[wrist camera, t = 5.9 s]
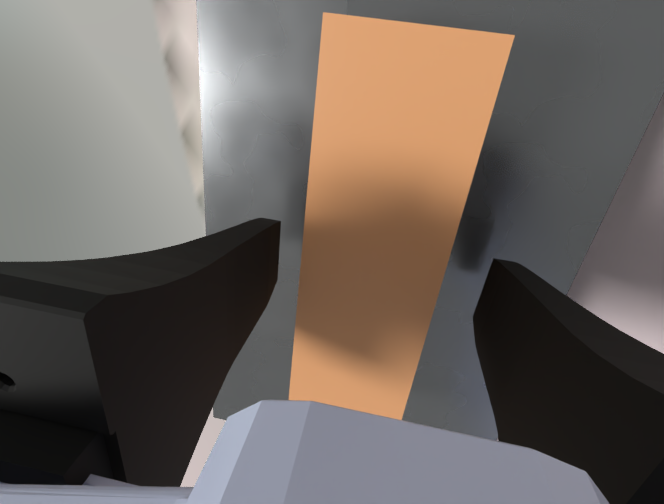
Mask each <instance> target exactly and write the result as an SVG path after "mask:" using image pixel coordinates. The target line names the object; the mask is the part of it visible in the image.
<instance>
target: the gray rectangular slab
mask: <svg viewBox="0 0 664 504" xmlns="http://www.w3.org/2000/svg"><path fill="white" fill-rule="evenodd" d="M196 5H197V29H198V53H199V77H200V102H201V126H202V150H203V174H204V198H205V222H206V236H208V235H211V234H214V233H217V232H220V231H222V230H225V229H228V228H231V227H233V226H236V225H239V224H241V223H244V222H247V221H250V220H253V219H256V218H267V219H272V220H278V221H281V230H280V248H279V265H278V280H277V283H276V285H275V288H274V290H273V293H272V295H271V298H270V300H269V302H268V305H267V307H266V308H265V310H264V312H263V314H262V315H261V317H260V319H259V320H258V322H257V324H256V325H255V327H254V329H253V330H252V332H251V334H250V335H249V337H248V339H247V340H246V342H245V344H244V346H243V347H242V349H241V351H240V352H239V354H238V356H237V357H236V359H235V361H234V362H233V364H232V366H231V368H230V370H229V372H228V374H227V376H226V378H225V380H224V383H223V385H222V387H221V389H220V391H219V394H218V396H217V398H216V400H215V402H214V405H213V415H214V417H215V418H219V419H224V420H227V418H228V417H229V416H231V415H233V414H235V413H237V412H239V411H241V410H243V409H245V408H247V407H249V406H251V405H253V404H255V403H257V402H259V401H262V400H289V389H290V378H291V367H292V355H293V344H294V333H295V322H296V310H297V299H298V288H299V277H300V266H301V254H302V243H303V232H304V221H305V209H306V198H307V187H308V176H309V165H310V153H311V142H312V131H313V120H314V108H315V97H316V86H317V75H318V64H319V52H320V41H321V30H322V19H323V12H326V13H334V14H343V15H351V16H359V17H368V18H376V19H384V20H393V21H401V22H409V23H418V24H426V25H434V26H443V27H451V28H459V29H468V30H476V31H484V32H493V33H501V34H509V35H515V37H514V40H513V43H512V47H511V50H510V54H509V57H508V60H507V64H506V67H505V71H504V74H503V77H502V81H501V84H500V88H499V91H498V94H497V98H496V101H495V104H494V108H493V111H492V115H491V118H490V121H489V125H488V128H487V132H486V135H485V138H484V142H483V145H482V149H481V152H480V155H479V159H478V162H477V166H476V169H475V172H474V176H473V179H472V183H471V186H470V189H469V193H468V196H467V199H466V203H465V206H464V210H463V213H462V216H461V220H460V223H459V227H458V230H457V233H456V237H455V240H454V244H453V247H452V250H451V254H450V257H449V261H448V264H447V267H446V271H445V274H444V278H443V281H442V284H441V288H440V291H439V295H438V298H437V301H436V305H435V308H434V311H433V315H432V318H431V322H430V325H429V328H428V332H427V335H426V339H425V342H424V345H423V349H422V352H421V356H420V359H419V362H418V366H417V369H416V373H415V376H414V379H413V383H412V386H411V390H410V393H409V396H408V400H407V403H406V406H405V410H404V413H403V417H402V420H403V421H408V422H412V423H417V424H422V425H426V426H431V427H435V428H440V429H445V430H449V431H454V432H458V433H463V434H468V435H472V436H477V437H482V438H486V439H491V440H495V441H496V440H497V438H498V432H497V427H496V423H495V418H494V414H493V410H492V406H491V403H490V399H489V395H488V392H487V388H486V384H485V380H484V377H483V373H482V369H481V366H480V362H479V358H478V354H477V350H476V346H475V337H474V328H473V314H474V311H475V308H476V306H477V303H478V300H479V297H480V294H481V292H482V289H483V286H484V283H485V280H486V278H487V275H488V272H489V269H490V266H491V263H492V261H493V258H496V259H501V260H507V261H513V262H517V263H519V264H521V265H523V266H524V267H526V268H527V269H529V270H530V271H532V272H533V273H535V274H536V275H538V276H539V277H541V278H542V279H543V280H545V281H546V282H548V283H549V284H550V285H552V286H553V287H555V288H556V289H557V290H559V291H560V292H562V293H563V294H564V295H567V293H568V290H569V288H570V286H571V284H572V282H573V280H574V278H575V276H576V274H577V272H578V270H579V268H580V266H581V264H582V261H583V259H584V257H585V255H586V253H587V251H588V249H589V247H590V245H591V243H592V241H593V239H594V237H595V234H596V232H597V230H598V228H599V226H600V224H601V222H602V220H603V218H604V216H605V214H606V212H607V210H608V208H609V205H610V203H611V201H612V199H613V197H614V195H615V193H616V191H617V189H618V187H619V185H620V183H621V181H622V178H623V176H624V174H625V172H626V170H627V168H628V166H629V164H630V162H631V160H632V158H633V156H634V154H635V152H636V149H637V147H638V145H639V143H640V141H641V139H642V137H643V135H644V133H645V131H646V129H647V127H648V125H649V122H650V120H651V118H652V116H653V114H654V112H655V110H656V108H657V106H658V104H659V102H660V100H661V98H662V95H663V93H664V0H196Z"/></svg>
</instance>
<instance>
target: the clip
mask: <svg viewBox="0 0 664 504" xmlns="http://www.w3.org/2000/svg"><path fill="white" fill-rule="evenodd" d="M514 37H515V35H509V34H501V33H493V32H484V31H476V30H468V29H459V28H451V27H443V26H434V25H426V24H418V23H409V22H401V21H393V20H384V19H376V18H368V17H359V16H351V15H343V14H334V13H326V12H323V19H322V30H321V41H320V52H319V64H318V75H317V86H316V97H315V108H314V120H313V131H312V142H311V153H310V165H309V176H308V187H307V198H306V209H305V221H304V232H303V243H302V254H301V266H300V277H299V288H298V299H297V310H296V322H295V333H294V344H293V355H292V367H291V378H290V389H289V400H303V401H315V402H320V403H325V404H329V405H334V406H338V407H343V408H348V409H352V410H357V411H362V412H366V413H371V414H375V415H380V416H385V417H389V418H394V419H398V420H402V417H403V413H404V410H405V406H406V403H407V400H408V396H409V393H410V390H411V386H412V383H413V379H414V376H415V373H416V369H417V366H418V362H419V359H420V356H421V352H422V349H423V345H424V342H425V339H426V335H427V332H428V328H429V325H430V322H431V318H432V315H433V311H434V308H435V305H436V301H437V298H438V295H439V291H440V288H441V284H442V281H443V278H444V274H445V271H446V267H447V264H448V261H449V257H450V254H451V250H452V247H453V244H454V240H455V237H456V233H457V230H458V227H459V223H460V220H461V216H462V213H463V210H464V206H465V203H466V199H467V196H468V193H469V189H470V186H471V183H472V179H473V176H474V172H475V169H476V166H477V162H478V159H479V155H480V152H481V149H482V145H483V142H484V138H485V135H486V132H487V128H488V125H489V121H490V118H491V115H492V111H493V108H494V104H495V101H496V98H497V94H498V91H499V88H500V84H501V81H502V77H503V74H504V71H505V67H506V64H507V60H508V57H509V54H510V50H511V47H512V43H513V40H514Z"/></svg>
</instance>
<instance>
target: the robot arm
mask: <svg viewBox="0 0 664 504" xmlns="http://www.w3.org/2000/svg"><path fill="white" fill-rule="evenodd" d="M280 230H281V221H278V220H272V219H267V218H256V219H253V220H250V221H247V222H244V223H241V224H239V225H236V226H233V227H231V228H228V229H225V230H222V231H220V232H217V233H214V234H211V235H208V236H205V237H202V238H199V239H196V240H193V241H189V242H186V243H183V244H180V245H175V246H171V247H167V248H163V249H158V250H153V251H149V252H143V253H136V254H129V255H122V256H115V257H108V258H99V259H87V260H73V261H53V262H0V504H664V354H663V353H661V352H659V351H657V350H655V349H653V348H651V347H649V346H647V345H645V344H644V343H642V342H640V341H638V340H636V339H635V338H633V337H631V336H629V335H627V334H625V333H624V332H622V331H620V330H618V329H617V328H615V327H613V326H612V325H610V324H608V323H607V322H605V321H604V320H602V319H600V318H599V317H597V316H596V315H594V314H593V313H591V312H589V311H588V310H586V309H585V308H583V307H582V306H580V305H579V304H577V303H576V302H574V301H573V300H572V299H570V298H569V297H567V296H566V295H564V294H563V293H562V292H560V291H559V290H557V289H556V288H555V287H553V286H552V285H550V284H549V283H548V282H546V281H545V280H543V279H542V278H541V277H539V276H538V275H536V274H535V273H533V272H532V271H530V270H529V269H527V268H526V267H524V266H523V265H521V264H519V263H517V262H513V261H507V260H501V259H496V258H493V261H492V263H491V266H490V269H489V272H488V275H487V278H486V280H485V283H484V286H483V289H482V292H481V294H480V297H479V300H478V303H477V306H476V308H475V311H474V314H473V328H474V337H475V346H476V350H477V354H478V358H479V362H480V366H481V369H482V373H483V377H484V380H485V384H486V388H487V392H488V395H489V399H490V403H491V406H492V410H493V414H494V418H495V423H496V427H497V432H498V439H499V441H495V440H491V439H486V438H482V437H477V436H472V435H468V434H463V433H458V432H454V431H449V430H445V429H440V428H435V427H431V426H426V425H422V424H417V423H412V422H408V421H403V420H398V419H394V418H389V417H385V416H380V415H375V414H371V413H366V412H362V411H357V410H352V409H348V408H343V407H338V406H334V405H329V404H325V403H320V402H315V401H303V400H262V401H259V402H257V403H255V404H253V405H251V406H249V407H247V408H245V409H243V410H241V411H239V412H237V413H235V414H233V415H231V416H229V417H228V418H227V420H226V422H225V424H224V426H223V428H222V430H221V432H220V435H219V436H218V438H217V441H216V443H215V445H214V447H213V449H212V451H211V453H210V455H209V457H208V459H207V461H206V463H205V465H204V467H203V470H202V472H201V474H200V476H199V478H198V480H197V482H196V484H195V486H194V487H180V485H181V483H182V480H183V477H184V475H185V472H186V470H187V467H188V465H189V462H190V460H191V457H192V455H193V452H194V450H195V447H196V445H197V443H198V440H199V437H200V435H201V433H202V431H203V428H204V426H205V424H206V421H207V419H208V416H209V414H210V411H211V409H212V407H213V405H214V402H215V400H216V398H217V396H218V394H219V391H220V389H221V387H222V385H223V383H224V380H225V378H226V376H227V374H228V372H229V370H230V368H231V366H232V364H233V362H234V361H235V359H236V357H237V356H238V354H239V352H240V351H241V349H242V347H243V346H244V344H245V342H246V340H247V339H248V337H249V335H250V334H251V332H252V330H253V329H254V327H255V325H256V324H257V322H258V320H259V319H260V317H261V315H262V314H263V312H264V310H265V308H266V307H267V305H268V302H269V300H270V298H271V295H272V293H273V290H274V288H275V285H276V283H277V280H278V265H279V248H280Z"/></svg>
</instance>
